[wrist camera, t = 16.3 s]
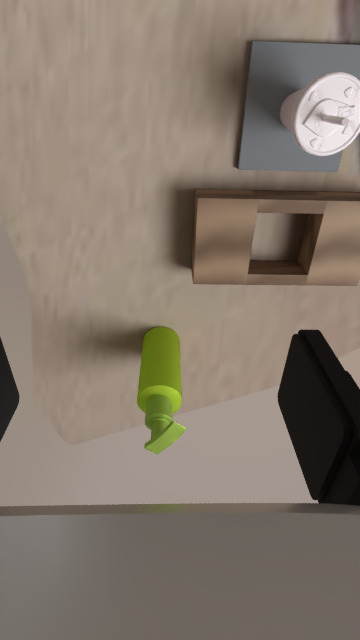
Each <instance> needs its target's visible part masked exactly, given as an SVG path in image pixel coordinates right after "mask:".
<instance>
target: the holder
mask: <svg viewBox="0 0 360 640" xmlns="http://www.w3.org/2000/svg"><path fill="white" fill-rule="evenodd" d="M257 212H258V213H309V214H308V218H307V222H306V227H305V231H304V235H303V240H302V244H301V248H300V253H299V257H298V261H259V260H250V255H251V248H252V241H253V234H254V228H255V221H256V214H257ZM192 277H193V284H236V285H322V286H357V285H358V282H359V279H360V192H319V191H272V190H226V189H195V208H194V228H193V249H192Z"/></svg>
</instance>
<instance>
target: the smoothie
mask: <svg viewBox="0 0 360 640" xmlns="http://www.w3.org/2000/svg"><path fill="white" fill-rule="evenodd" d="M280 119H281V122H282V124H283V125H284V127H285V128H286V129H287V130H288V131H289V132H290V133H291V134H292V135H293V137H294V139H295V141H296V143H297V144H298V146H299V147H300V148H301V149H302V150H304V151H305V152H307V153H309V154H313V155H318V156H327V155H332V154H335V153H337V152H339V151H341V150H342V149H344V148H345V147H347V146H348V145H349V144H350V143H351V142H352V141H353V140H354V139H355V138H356V136H357V135H358V133H359V132H360V81H359V80H358V79H357V78H356V77H354V76H353V75H351V74H348V73H343V72H331V73H326V74H324V75H321V76H319V77H317V78H316V79H314V80H313V81H312V82H310V83H309V84H308V85H307V86H306V87H305V88H302V89H300V90H298V91H296V92H294V93H292V94H290V95H289V96H288V97H287V98H286V99H285V100H284V102H283V104H282V106H281V110H280Z"/></svg>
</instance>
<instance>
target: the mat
mask: <svg viewBox="0 0 360 640" xmlns="http://www.w3.org/2000/svg"><path fill="white" fill-rule="evenodd" d="M331 72H343V73H348V74H351V75H353V76H354V77H356V78H357V79H358V80H359V81H360V45H347V44H320V43H293V42H266V41H252V42H251V50H250V59H249V68H248V77H247V86H246V96H245V105H244V114H243V123H242V132H241V141H240V150H239V159H238V169H239V170H281V171H324V172H337V171H338V167H339V163H340V159H341V155H342V152H343V149H342V150H341V151H339V152H337V153H335V154H332V155H327V156H318V155H313V154H309V153H307V152H305V151H304V150H302V149H301V148H300V147H299V146H298V144H297V143H296V141H295V139H294V137H293V135H292V134H291V133H290V132H289V131H288V130H287V129H286V128H285V127H284V125H283V124H282V122H281V119H280V110H281V106H282V104H283V102H284V100H285V99H286V98H287V97H288V96H289V95H290V94H292V93H294V92H296V91H298V90H300V89H302V88H305V87H306V86H307V85H308V84H309V83H310V82H312V81H313V80H314V79H316V78H317V77H319V76H321V75H324V74H326V73H331Z"/></svg>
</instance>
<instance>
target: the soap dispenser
mask: <svg viewBox="0 0 360 640" xmlns="http://www.w3.org/2000/svg"><path fill="white" fill-rule="evenodd" d="M181 403H182V392H181V367H180V341H179V337H178V335H177V333H176V332H175V331H173V330H172V329H170V328H167V327H156V328H153V329H151V330H149V331H148V332H147V333H146V334H145V336H144V339H143V348H142V358H141V367H140V377H139V386H138V396H137V404H138V406H139V408H140V409H141V410H142V411H143V412H145V413H146V416H145V424H146V426H147V427H148V428H149V429H150V430H152V431H151V440H149V441H148V442H147V443H145V449H147V450H149V451H151V452H153V453H156V454H158V453H160V452H161V451H163V450H164V449H166V448H167V447H169V446H170V445H171V444H173V443H174V442H175V441H176V440H177V439H178V438H179V437H180V436H181V435H182V434H183V433H184V431H185V430H186V428H185V427H183V426H181V425H179V424H177V423H176V422H173V421H172V414H173V413H174V412H176V411H177V410H178V409H179V408H180V406H181Z"/></svg>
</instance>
